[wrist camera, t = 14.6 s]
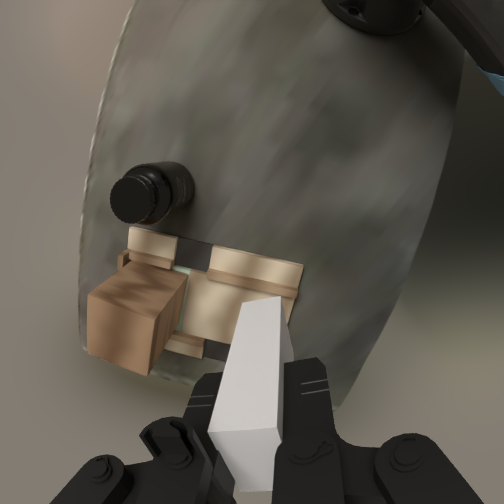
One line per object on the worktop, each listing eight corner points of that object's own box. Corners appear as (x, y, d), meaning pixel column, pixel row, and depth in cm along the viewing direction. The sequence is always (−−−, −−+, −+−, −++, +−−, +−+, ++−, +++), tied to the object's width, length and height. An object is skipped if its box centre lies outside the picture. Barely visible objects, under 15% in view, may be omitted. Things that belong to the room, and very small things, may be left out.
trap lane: (303, 264, 42) (305, 275, 38) (272, 370, 48) (271, 387, 44) (132, 226, 43) (119, 233, 39) (126, 333, 48) (116, 346, 44)
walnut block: (188, 274, 43) (154, 319, 31) (178, 322, 45) (147, 376, 33) (135, 257, 43) (87, 294, 31) (129, 305, 45) (87, 351, 33)
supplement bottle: (161, 152, 40) (118, 152, 28) (204, 177, 40) (174, 186, 29) (138, 196, 42) (92, 212, 30) (179, 222, 42) (143, 246, 31)
